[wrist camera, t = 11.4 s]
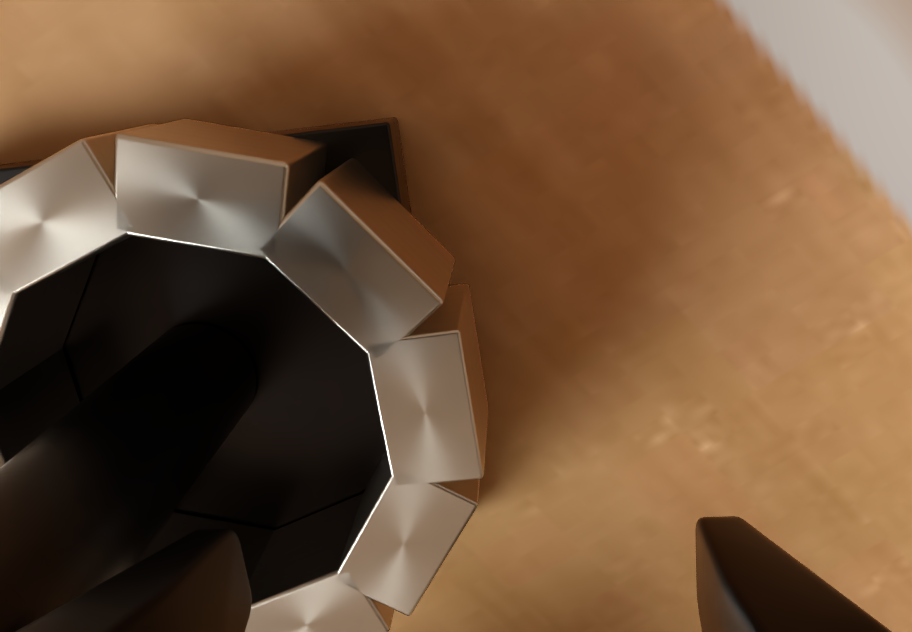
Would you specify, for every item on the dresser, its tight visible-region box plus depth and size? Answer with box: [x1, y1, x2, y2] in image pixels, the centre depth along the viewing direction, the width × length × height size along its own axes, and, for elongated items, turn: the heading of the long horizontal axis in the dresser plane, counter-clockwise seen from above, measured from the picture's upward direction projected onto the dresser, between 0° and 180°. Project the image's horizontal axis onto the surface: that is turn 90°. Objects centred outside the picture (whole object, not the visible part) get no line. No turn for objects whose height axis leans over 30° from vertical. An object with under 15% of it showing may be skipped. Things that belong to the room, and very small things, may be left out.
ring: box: [0, 119, 489, 632], centre depth 13 cm, size 9×9×2 cm
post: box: [0, 117, 411, 632], centre depth 11 cm, size 8×8×9 cm
